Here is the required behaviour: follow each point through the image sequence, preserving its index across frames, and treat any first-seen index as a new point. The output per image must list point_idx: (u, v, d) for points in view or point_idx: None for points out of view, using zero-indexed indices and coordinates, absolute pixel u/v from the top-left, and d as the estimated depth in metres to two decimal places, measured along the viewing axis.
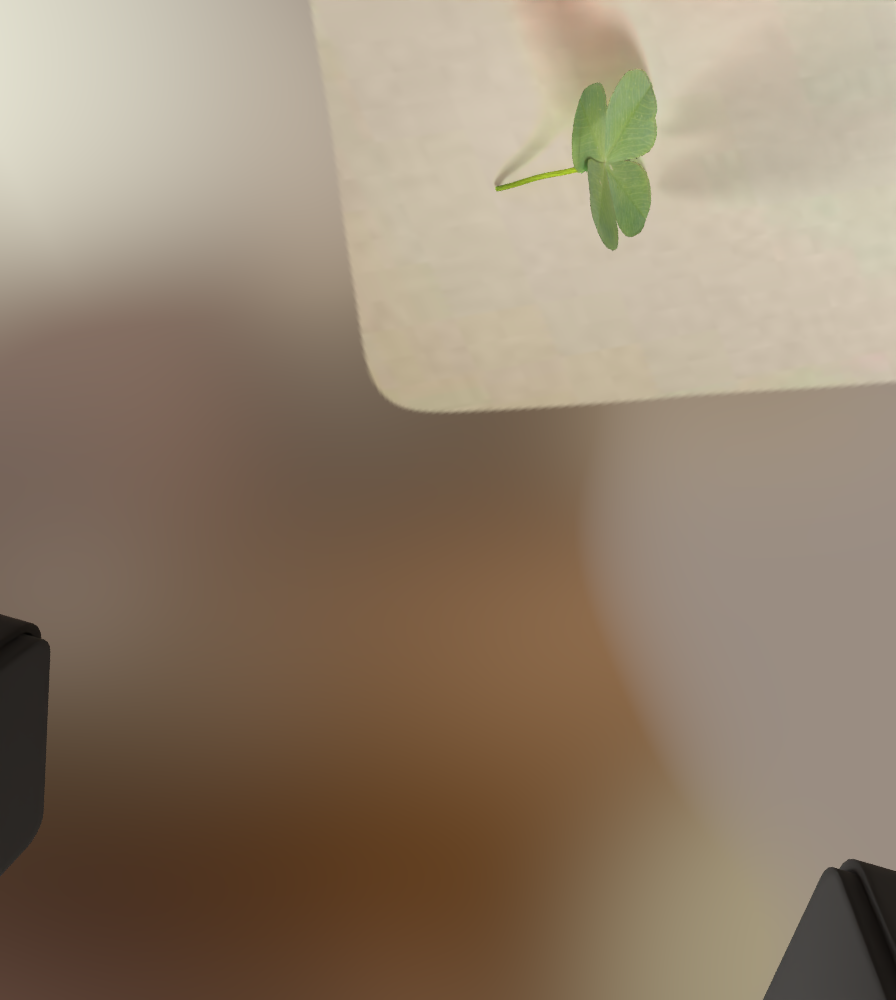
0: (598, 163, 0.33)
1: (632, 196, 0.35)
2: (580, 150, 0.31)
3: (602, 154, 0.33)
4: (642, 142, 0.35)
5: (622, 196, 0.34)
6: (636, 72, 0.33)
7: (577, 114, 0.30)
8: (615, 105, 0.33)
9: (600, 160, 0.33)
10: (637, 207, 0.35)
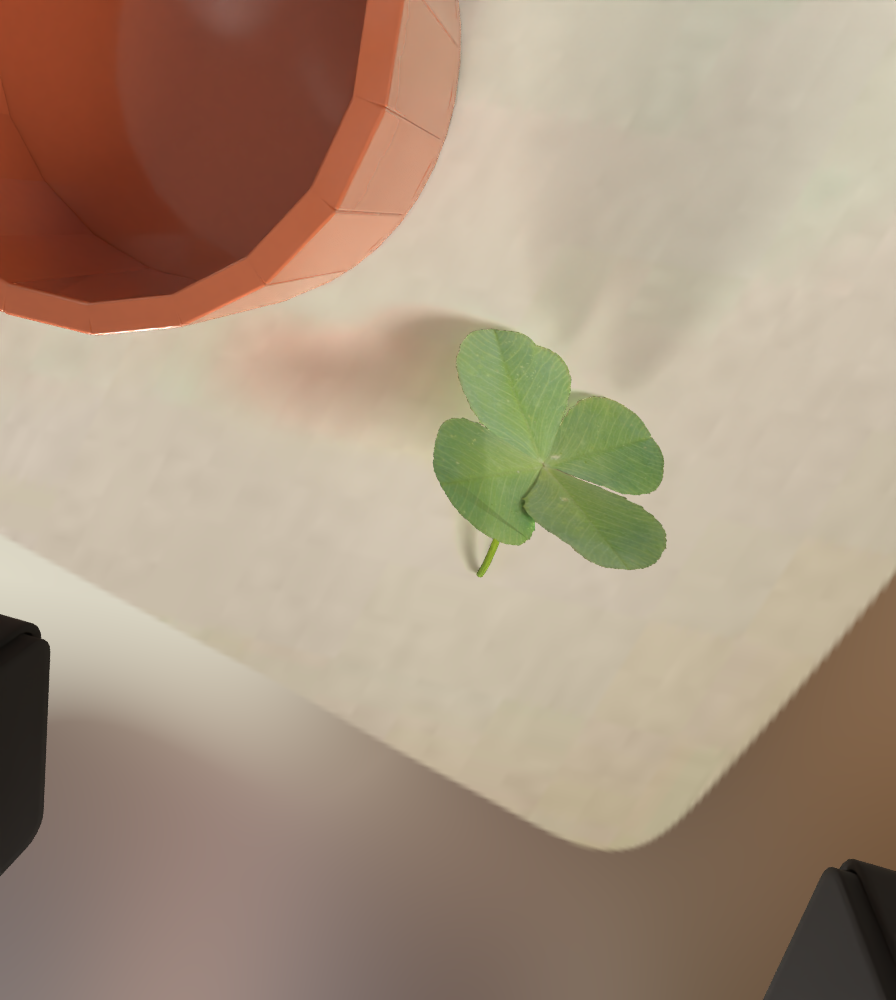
0: (538, 482, 0.21)
1: (610, 442, 0.22)
2: (504, 517, 0.19)
3: (531, 463, 0.21)
4: (554, 385, 0.23)
5: (601, 462, 0.22)
6: (464, 347, 0.22)
7: (455, 500, 0.19)
8: (484, 404, 0.21)
9: (536, 472, 0.21)
10: (630, 441, 0.22)
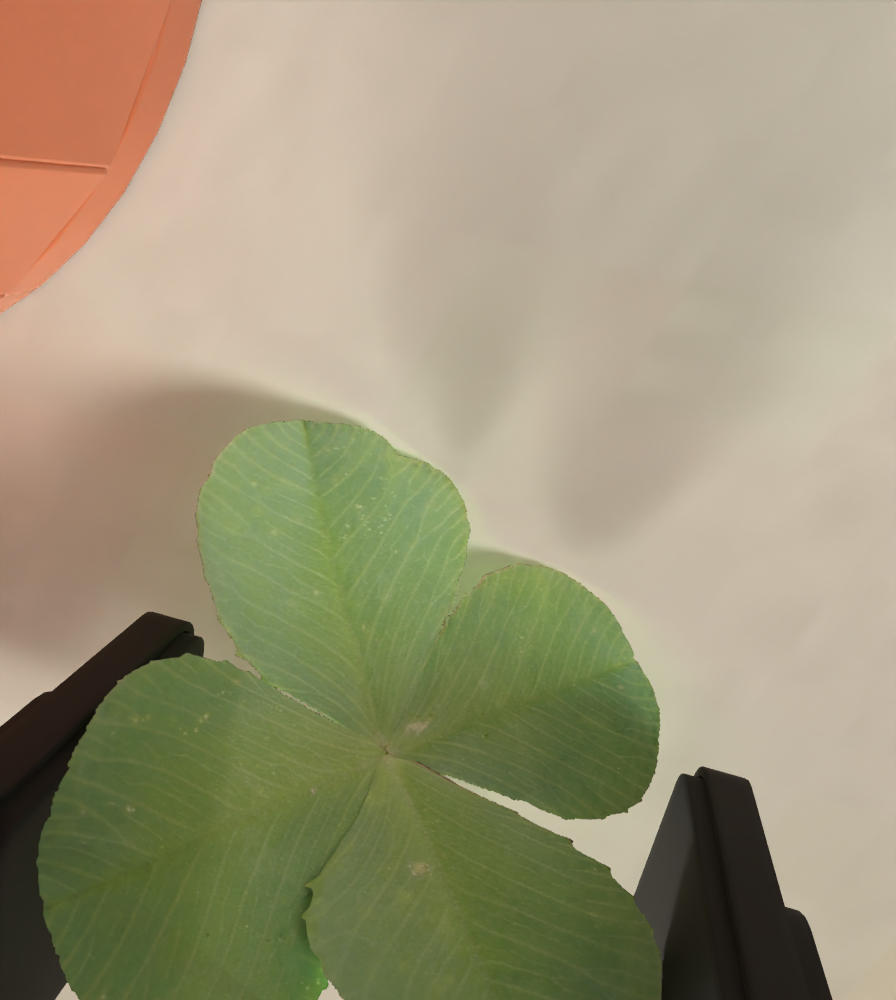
0: (362, 815, 0.09)
1: (546, 678, 0.10)
2: (238, 971, 0.07)
3: (353, 753, 0.09)
4: (430, 545, 0.10)
5: (522, 733, 0.10)
6: (225, 464, 0.10)
7: (84, 956, 0.07)
8: (256, 606, 0.09)
9: (364, 779, 0.09)
10: (589, 674, 0.10)
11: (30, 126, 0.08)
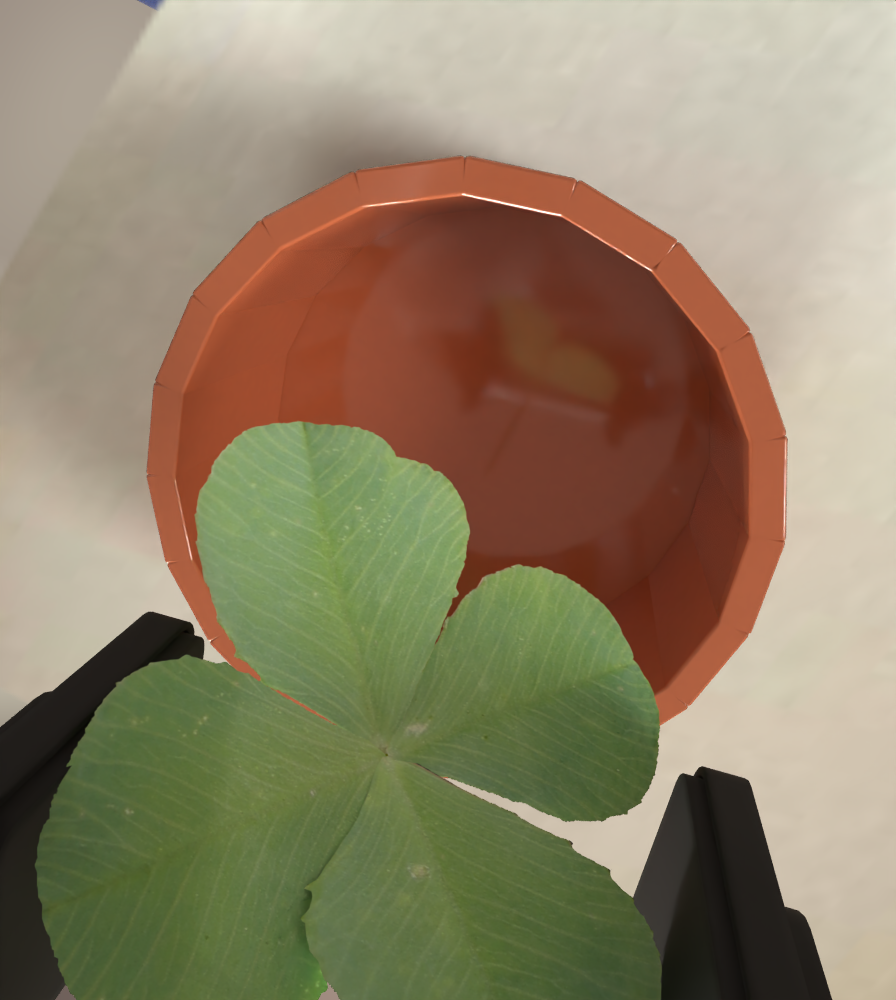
0: (361, 816, 0.09)
1: (545, 680, 0.10)
2: (237, 973, 0.07)
3: (353, 755, 0.09)
4: (429, 546, 0.10)
5: (521, 734, 0.10)
6: (224, 465, 0.10)
7: (84, 959, 0.07)
8: (254, 607, 0.09)
9: (364, 782, 0.09)
10: (589, 675, 0.10)
11: None
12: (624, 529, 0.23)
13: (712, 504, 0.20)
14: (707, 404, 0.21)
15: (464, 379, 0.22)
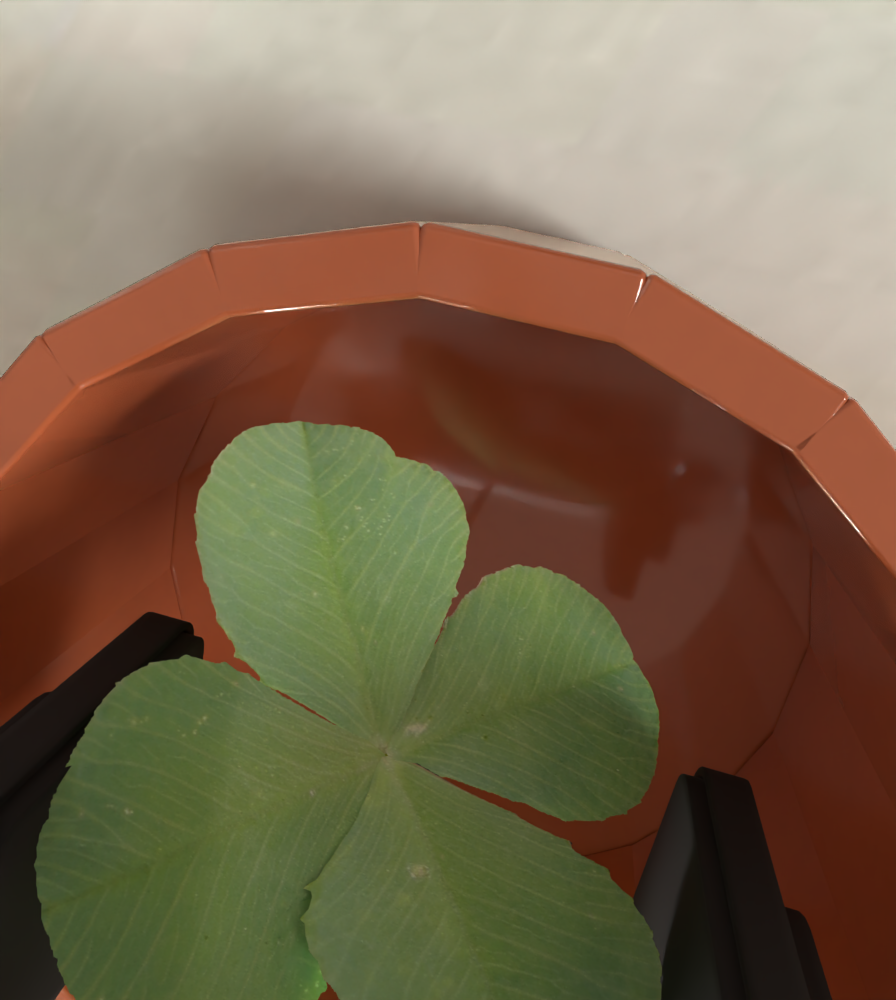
0: (361, 816, 0.09)
1: (545, 679, 0.10)
2: (237, 973, 0.07)
3: (352, 755, 0.09)
4: (429, 546, 0.10)
5: (521, 734, 0.10)
6: (224, 465, 0.10)
7: (82, 959, 0.07)
8: (255, 608, 0.09)
9: (364, 782, 0.09)
10: (589, 675, 0.10)
11: None
12: (677, 736, 0.15)
13: (828, 743, 0.13)
14: (808, 567, 0.14)
15: None
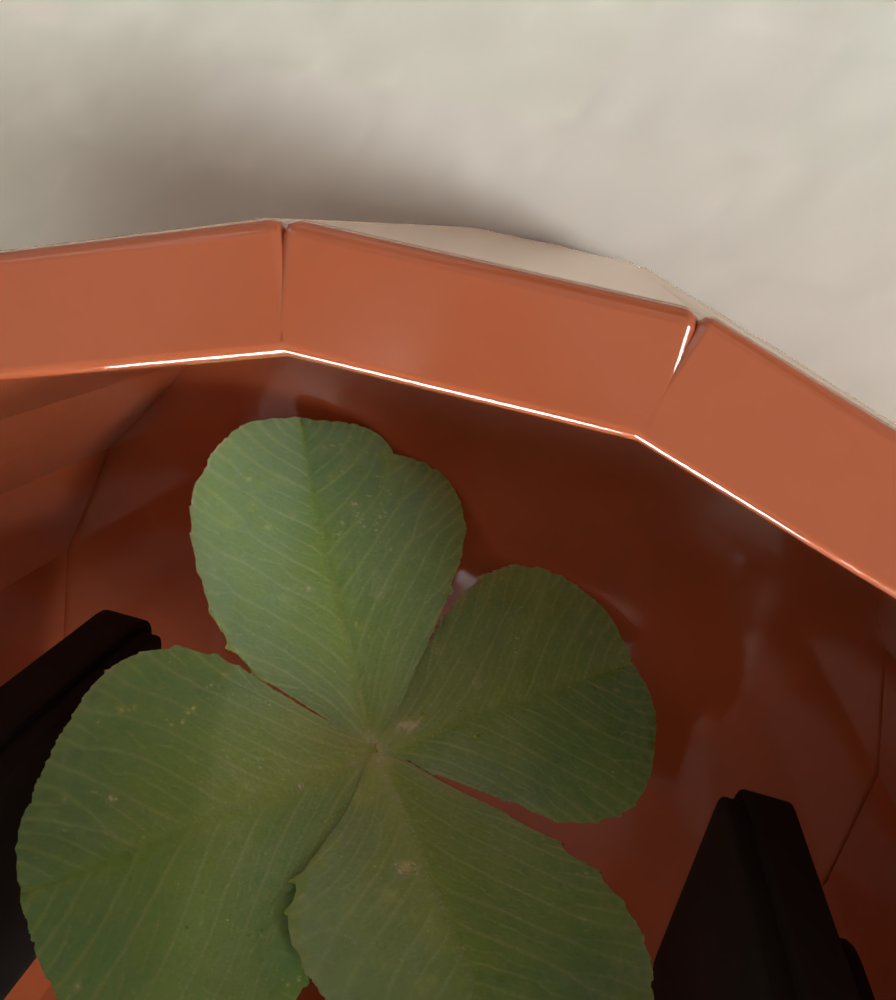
0: (350, 811, 0.09)
1: (541, 678, 0.10)
2: (217, 965, 0.07)
3: (343, 750, 0.09)
4: (425, 543, 0.10)
5: (515, 734, 0.10)
6: (222, 459, 0.10)
7: (61, 945, 0.07)
8: (248, 600, 0.09)
9: (353, 777, 0.09)
10: (585, 676, 0.10)
11: None
12: None
13: None
14: (879, 676, 0.11)
15: None
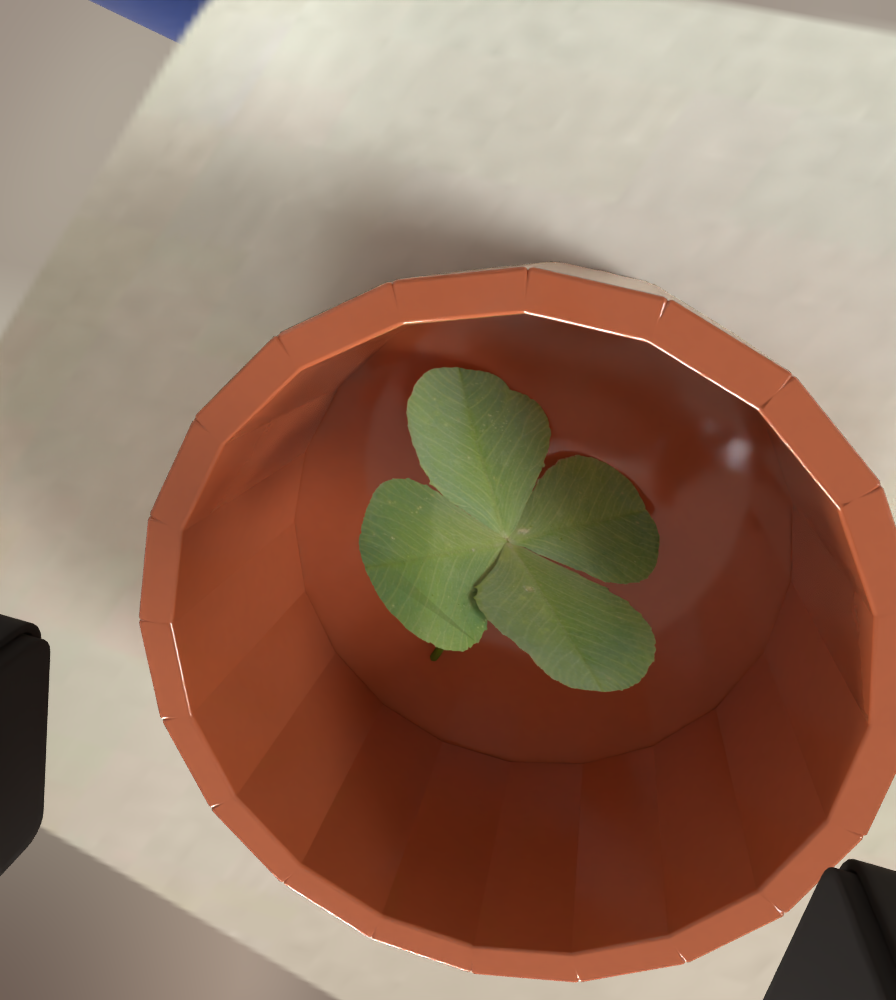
0: (498, 564, 0.16)
1: (594, 513, 0.18)
2: (447, 612, 0.15)
3: (491, 538, 0.17)
4: (528, 439, 0.18)
5: (581, 539, 0.18)
6: (420, 387, 0.18)
7: (383, 589, 0.15)
8: (438, 461, 0.17)
9: (497, 551, 0.17)
10: (619, 514, 0.18)
11: None
12: (689, 656, 0.20)
13: (801, 646, 0.17)
14: (790, 520, 0.18)
15: None
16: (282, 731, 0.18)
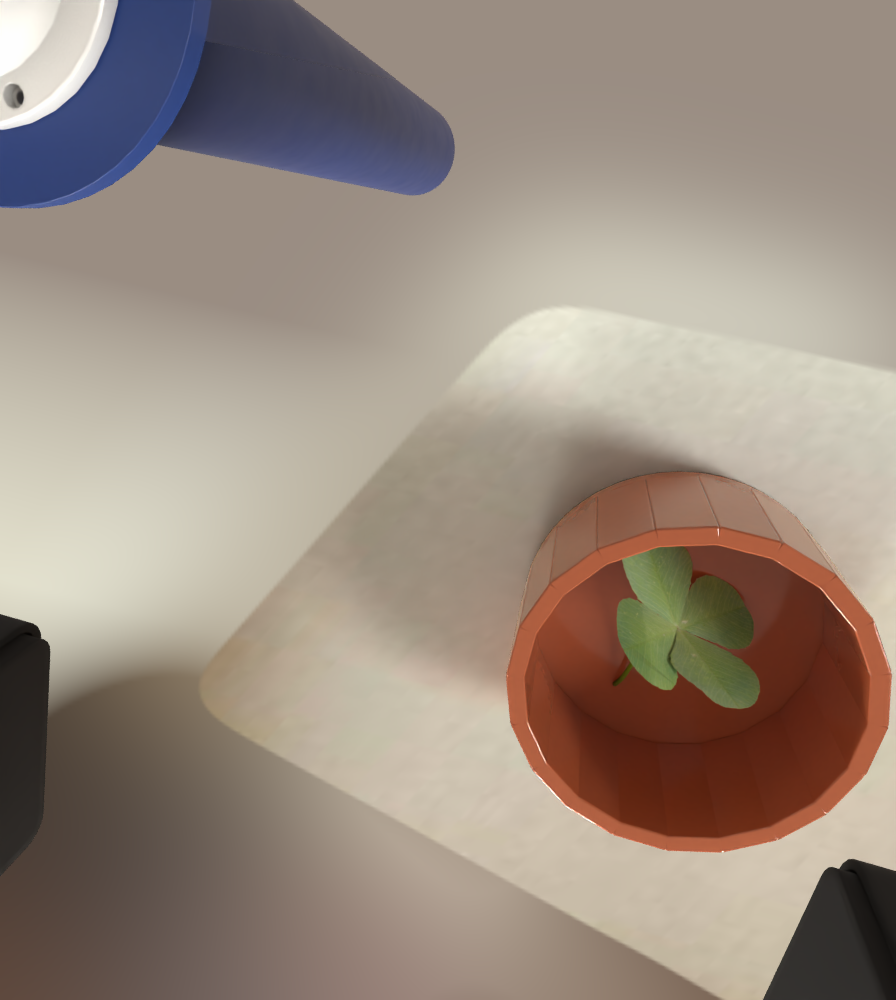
0: (676, 641, 0.32)
1: (718, 610, 0.33)
2: (660, 670, 0.30)
3: (670, 627, 0.32)
4: (681, 569, 0.34)
5: (713, 625, 0.33)
6: None
7: (633, 660, 0.30)
8: (640, 585, 0.33)
9: (674, 634, 0.32)
10: (731, 609, 0.34)
11: None
12: (764, 682, 0.35)
13: (830, 680, 0.33)
14: (822, 610, 0.34)
15: None
16: (551, 728, 0.34)
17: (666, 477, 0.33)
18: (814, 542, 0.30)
